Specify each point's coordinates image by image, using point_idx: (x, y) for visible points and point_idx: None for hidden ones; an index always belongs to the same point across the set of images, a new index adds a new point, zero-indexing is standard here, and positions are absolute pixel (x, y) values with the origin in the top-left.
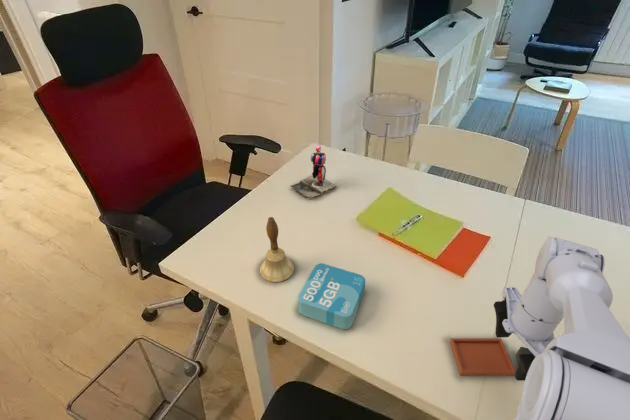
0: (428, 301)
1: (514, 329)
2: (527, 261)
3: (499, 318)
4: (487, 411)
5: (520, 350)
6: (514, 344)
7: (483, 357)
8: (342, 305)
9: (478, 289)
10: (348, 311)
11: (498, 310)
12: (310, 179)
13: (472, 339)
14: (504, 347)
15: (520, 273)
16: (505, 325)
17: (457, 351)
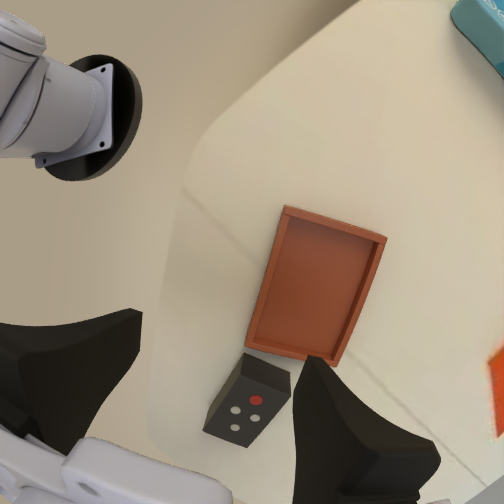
0: (485, 248)
1: (81, 502)
2: None
3: (347, 430)
4: (181, 220)
5: (284, 389)
6: None
7: (310, 297)
8: (500, 7)
9: (453, 380)
10: (487, 6)
11: (388, 463)
12: None
13: (363, 296)
14: None
15: None
16: (129, 493)
17: (346, 231)
